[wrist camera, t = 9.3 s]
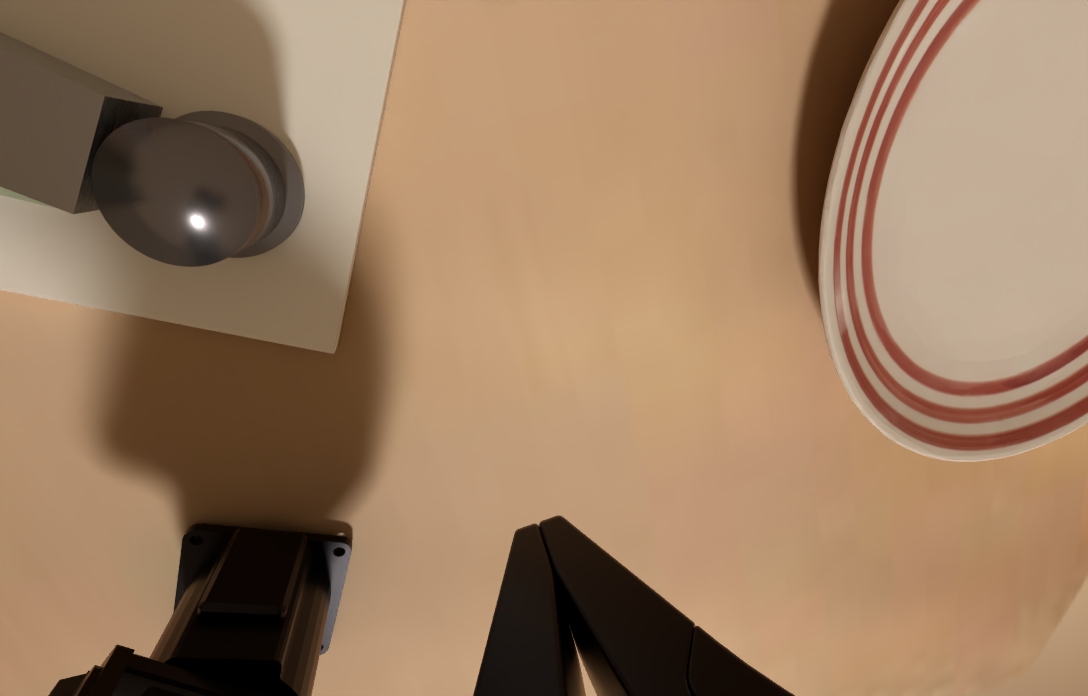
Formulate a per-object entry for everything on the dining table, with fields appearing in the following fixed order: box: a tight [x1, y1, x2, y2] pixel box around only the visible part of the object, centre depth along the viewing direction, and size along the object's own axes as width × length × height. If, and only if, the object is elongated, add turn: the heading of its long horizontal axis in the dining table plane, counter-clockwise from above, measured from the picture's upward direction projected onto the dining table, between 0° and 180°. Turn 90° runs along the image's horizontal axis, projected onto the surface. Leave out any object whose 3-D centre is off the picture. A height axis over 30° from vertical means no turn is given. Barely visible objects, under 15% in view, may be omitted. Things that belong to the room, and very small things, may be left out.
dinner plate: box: [818, 0, 1088, 462], centre depth 23 cm, size 27×27×3 cm
